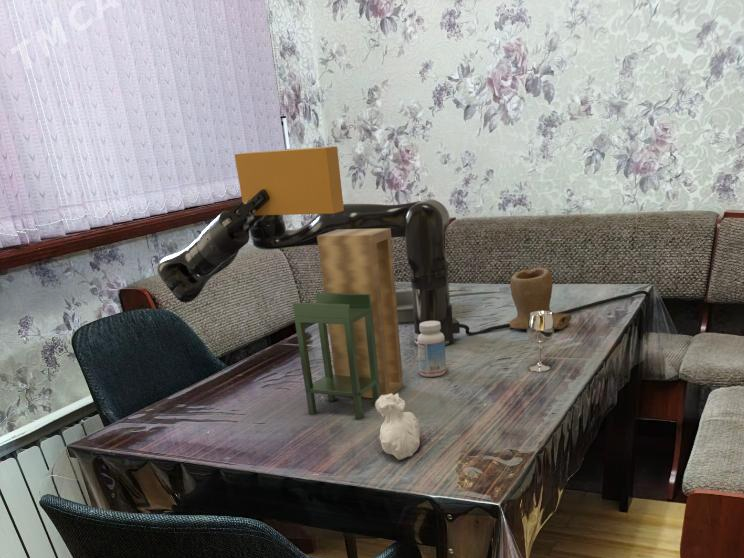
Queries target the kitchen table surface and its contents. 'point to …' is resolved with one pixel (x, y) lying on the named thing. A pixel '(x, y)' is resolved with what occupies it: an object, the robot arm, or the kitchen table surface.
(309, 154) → the book
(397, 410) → the white tied sack
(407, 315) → the cake pan
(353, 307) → the book rack
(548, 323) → the wineglass
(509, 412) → the kitchen table surface
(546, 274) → the brown clay vessel
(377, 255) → the tall stand
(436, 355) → the pill bottle
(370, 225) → the robot arm
